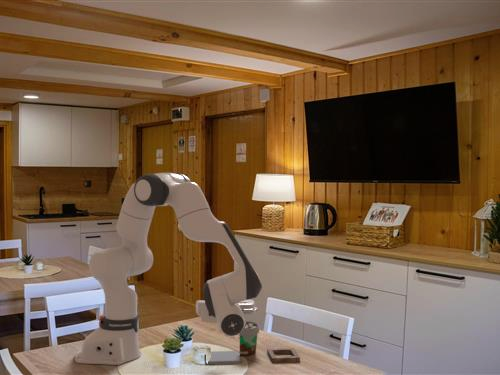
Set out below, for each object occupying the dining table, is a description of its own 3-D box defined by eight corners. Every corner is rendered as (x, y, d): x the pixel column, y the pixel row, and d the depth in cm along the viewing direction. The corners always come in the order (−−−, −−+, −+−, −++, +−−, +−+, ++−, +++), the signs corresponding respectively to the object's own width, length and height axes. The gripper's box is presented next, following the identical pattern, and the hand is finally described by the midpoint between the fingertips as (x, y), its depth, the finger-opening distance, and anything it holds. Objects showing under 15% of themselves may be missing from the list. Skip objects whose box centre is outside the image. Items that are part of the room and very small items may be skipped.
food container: (255, 358, 182) (256, 331, 182) (238, 357, 183) (239, 329, 183) (261, 347, 194) (262, 321, 194) (245, 346, 195) (246, 320, 195)
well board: (272, 362, 179) (272, 358, 179) (267, 352, 189) (267, 348, 188) (299, 361, 180) (300, 357, 180) (293, 352, 190) (293, 348, 190)
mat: (206, 364, 175) (206, 361, 175) (204, 354, 185) (204, 351, 185) (241, 363, 177) (241, 360, 177) (237, 353, 187) (237, 350, 187)
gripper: (258, 301, 169) (252, 292, 183) (197, 302, 166) (195, 293, 180) (258, 320, 169) (252, 309, 183) (196, 321, 167) (195, 310, 180)
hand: (223, 301), depth 182 cm, fingers closed on sage block, 5 cm apart
